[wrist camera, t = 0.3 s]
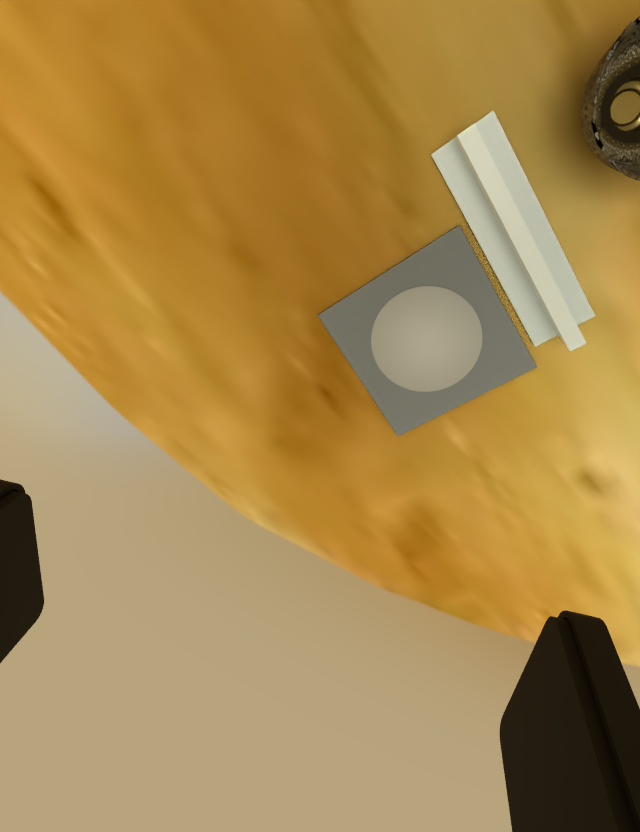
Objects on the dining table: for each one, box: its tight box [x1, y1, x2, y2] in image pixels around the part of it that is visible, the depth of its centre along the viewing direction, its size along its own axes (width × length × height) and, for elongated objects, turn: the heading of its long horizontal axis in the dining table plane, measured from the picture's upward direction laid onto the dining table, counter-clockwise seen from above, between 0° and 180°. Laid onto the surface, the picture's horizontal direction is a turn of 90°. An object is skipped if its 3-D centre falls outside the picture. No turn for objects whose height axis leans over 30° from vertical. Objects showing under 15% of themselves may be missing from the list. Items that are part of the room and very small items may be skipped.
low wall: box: [431, 110, 595, 351], centre depth 31 cm, size 4×14×4 cm, turn 34°
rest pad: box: [318, 225, 537, 436], centre depth 37 cm, size 11×11×1 cm
